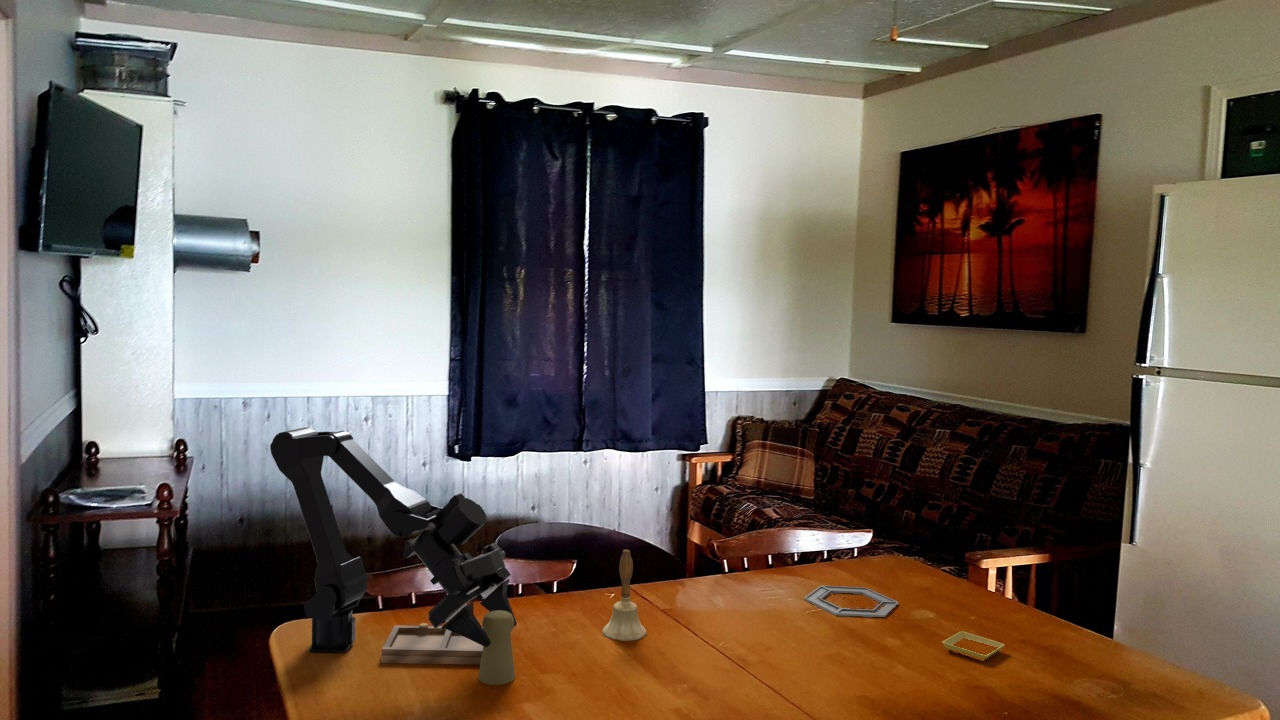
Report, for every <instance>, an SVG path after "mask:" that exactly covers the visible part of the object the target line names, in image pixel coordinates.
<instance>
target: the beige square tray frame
mask: <svg viewBox="0 0 1280 720" xmlns="http://www.w3.org/2000/svg"><path fill="white" fill-rule="evenodd" d="M963 638H965V639H968V640H973V641H976V642H979V643H984V644H987V645H990V646H994V647H998V648H997V649H996V650H994V651H992V652H991V653H989V654H987V655H983V654H979V653H976V652H973V651H970V650H967V649H964V648H960V647H957V646H954V645H953V644H955V643H956V642H958V641H960V640H961V639H963ZM942 644H943V645H944V647H945V648H946V649H947V648H948V649H951V650H955V651H959V652H962V653H965V654H969V655H972V656H975V657H979V658H982V659H986V658H988V657H989V656H991V655H993V654H994V653H996V652H997V651H999V650H1000V651H1001V650H1002V649H1003V648H1004V647H1005V644H1004V643H1002V642H999V641H997V640H993V639H989V638H986V637H984V636H980V635H977V634H972V633H971V632H970V633H969V632H966V631H959V632H956V633H955V634H953V635H952V636H950V637H948V638H946V639H945V640H942ZM948 649H947V650H948ZM1000 651H999V652H1000ZM996 654H997V653H996ZM994 655H995V654H994ZM994 655H993V656H994ZM991 657H992V656H991ZM988 659H989V658H988ZM986 660H987V659H986Z"/></svg>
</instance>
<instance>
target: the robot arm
mask: <svg viewBox="0 0 1280 720" xmlns="http://www.w3.org/2000/svg"><path fill="white" fill-rule="evenodd" d="M269 446H270V454H271V457H272V459H273V460H274V463H275V464H276V467H277V468H278V471H280V473H282V474H283V475H284V476H285V477H286V478H287V479H288V480H289V481H290V482H291V483H292V486H293V489H294V491H295V495H296V498H297V501H298V504H299V507H300V512H301V514H302V516H303V520H304V523H305V526H306V529H307V532H308V535H309V539H310V541H311V545H312V548H313V551H314V553H315V556H316V562H317V563H316V564H317V565H316V568H315V576H314V585H315V591H316V593H315V594H313V596H312V597H311V598H310V599H308V601H306V602H305V603H304V605H303V609H304V613H305V614H304V615H305V616H306V618H310V619H311V644H310V646H309V647H308V652H315V653H317V652H318V653H319V652H320V653H321V652H322V653H346V652H347V651H348V650H349V648H350V647H351V645H353V643H354V641H355V640H356V620H357V619H356V617H355V616H354V617H353V608H354V607H355V608H356V607H358V606H359V604H360V600H361V598H362V597H363V596H364V595H365V593H366V591H367V589H368V580H367V579H369V577H370V576H369V575H368V574H367V572H366V570H365V566H364V561H363V559H362V557H361V556H358V557H353V556H352V555H351V554H350V553H349V552H348V551H347V550H346V548H345V544H344V540H343V538H342V534H341V531H340V529H339V526H338V522H337V520H336V517H335V514H334V510H333V507H332V504H331V501H330V497H329V495H328V491H327V489H326V486H325V483H324V480H323V476H322V469H323V463H324V458H325V457H329V458H330V459H331V460H332V461H333V462H334V463H335V464H336V465H337V467H339V468H340V469H341V470H342V471H343V472H344V473H345V474H346V475H347V476H348V478H350V479H351V481H352V482H354V483H355V484H356V485H357V487H359V488H360V490H361V491H363V493H365V494H366V496H368V498H369V499H371V500H372V502H373V503H374V504H375V506H376V509H377V512H378V516H379V518H380V521H382V523H383V524H384V526H385V527H386V528H387V530H388V531H389V532H390V533H391V534H392V535H393V536H395V537H397V538H407V537H409V536H411V535H413V534H415V533H418V532H421V531H422V532H421V533H420V534H419V535H418V536H416V538H411V539H408V540H406V541H405V542H404V550H403V559H408V558H410V557H412V556H414V555H417V557H418V558H419V559H420V561H421V562H422V563H423V565H424V566H425V567H426V568H427V570H428V571H429V572H430V574H431V575H432V576H433V577H432V578H431V579H429V582H431V584H432V585H433V586H435V585H437V584H439V586H440V587H441V588H442V589H443V591H444V592H445V593H446V595H445V596H444V597H443V598H441V600H440V601H439V602H437V603H436V604H435V605H434V606H433V607H432V608H431V609H430V610H429V611H428V613H427V615H428V617H427V618H428V621H429V623H430V624H431V626H433V627H434V628H435V629H436V628H437V627H439V626H442V627H441V629H442V630H444V629H447V630H449V631H452V632H454V633H457V634H459V635H461V636H464V637H466V638H468V639H470V640H472V641H474V642H476V643H478V644H480V645H482V646H484V647H488V646H489V645H490V644H491V641H490V639H489V638H488V636H487V634H486V633H485V631H484V630H483V628H482V627H483V626H482V624H480V623H481V622H479V620H478V619H477V617H476V616H475V613H474V601H472V600H473V599H475V598H476V599H478V600H481V602H479V604H480V605H481V606H482V607H484V608H485V609H486V610H487V611H488V612H491V611H495V610H503V611H507V612H509V613H511V614H512V616H513V618H514V627H513V629H514V628H515V627H516V626H517V624H518V623H517V620H516V617H515V614H514V612H513V610H512V609H513V608H512V606H511V604H510V601H509V599H508V594H507V593H508V592H507V591H508V584H509V583H510V578H509V577H511V575H512V574H511V573H510V571H509V570H508V568H506V564H505V561H504V560H505V556H506V555H507V554H506V552H505V551H504V550H503V549H502V547H500V546H499V545H498V544H497V543H496V542H494V543H491V544H488V545H487V546H485V547H483V553H482V554H480V555H477V556H476V557H472V555H471V554H470V553H468V552H464V553H461V552H460V551H459V549H458V548H457V547H456V546H462V545H463V544H465V543H466V542H467V541H468V540H469V539H470V538H471V537H472V536H474V534H475V533H476V532H478V530H480V529H481V528H482V527H483V526H484V525H485V524H486V523H487V520H488V519H487V514H486V512H485V509H483V507H482V506H481V505H480V504H477V502H476V501H474V500H472V499H470V498H469V497H468V498H467V497H465V496H464V495H463V493H462V492H459V493H457V494H455V495H453V496H452V497H451V498H450V499H449V501H448V502H447V504H446V505H444V507H442V506H438V505H433V504H431V503H430V502H429V501H428V500H427V498H425V497H423V496H422V495H420V494H419V493H418V492H416V491H415V490H413V489H410V488H408V487H405V486H403V485H401V484H399V483H398V482H396V481H395V479H393V477H391V476H390V475H389V474H388V473H387V472H386V471H385V470H384V469H383V468H382V467H381V466H380V464H378V463H377V462H376V461H375V460H374V459H373V458H372V457H371V456H370V455H369V454H368V452H366V451H365V450H364V449H363V447H361V446H360V445H359V444H358V443H357V442H356V441H355V439H354V437H353V435H352V434H351V433H349V432H348V431H345V430H338V431H317V430H314V429H312V428H311V427H299V428H296V429H291V430H287V431H282V432H279V433H277V434H276V435H275V436H274V437H273V439H272V442H271V443H270V444H269ZM431 526H434V527H433V528H432V529H431V530H429V529H427V528H430V527H431ZM425 529H427V530H425ZM423 530H424V531H423ZM467 603H468V604H467Z"/></svg>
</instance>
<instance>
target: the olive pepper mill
mask: <svg viewBox="0 0 1280 720" xmlns="http://www.w3.org/2000/svg"><path fill="white" fill-rule="evenodd" d="M481 626H482V627H483V630H484V631H485V633H486V634H487V636H488V638H489V639H490V641H491V644H490V645H489V646H488V647H484V646H483V651H482V657H481V663H480V665H479V671H478V678H477V679H478V680H479V682H481V683H482V684H486V685H489V686H501V685H506V684H510V683H511V682H513V681H514V680H515V678H516V675H515V674H516V673H515V665H514V663H515V662H514V654H513V644H512V643H513V642H512V635H511V634H512V631H513V629H514V628H515V627H514V618H513V616H512V614H511V613H509V612H507V611H503V610H495V611H491V612H490V611H488V612H487V613H486V614H485V615H484V616H483V618H482V623H481ZM513 627H514V628H513Z"/></svg>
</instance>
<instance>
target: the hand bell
mask: <svg viewBox="0 0 1280 720" xmlns="http://www.w3.org/2000/svg"><path fill="white" fill-rule="evenodd" d="M618 566H619V567H618V571H619V578H620V580H621V581H620V582H621V589H620V597H621V598H620V600H619V601H617V602H616V603H614V605H613V609H612V610H613V611H612V613H611V617H610V620H609V621H608V623H607V624H606V625H605V626H604V627H603V628H602V630H601V631H602V634H603V635H604V636H605V637H606V638H608V639H610V640H613V641H621V642H630V641H637V640H640V639H643V638H644V637H646V635H647V631H646V629H645V627H644V626H643V625H642V623H641V621H640V619H639V613H638V605H637V604H636V603H635V602H633V601H631V593H630V592H631V588H630V586H631V579H632V576H633V571H634V562H633V559H632V555H631V551H630V549H623V550H622V554H621V556H620V560H619V565H618Z"/></svg>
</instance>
